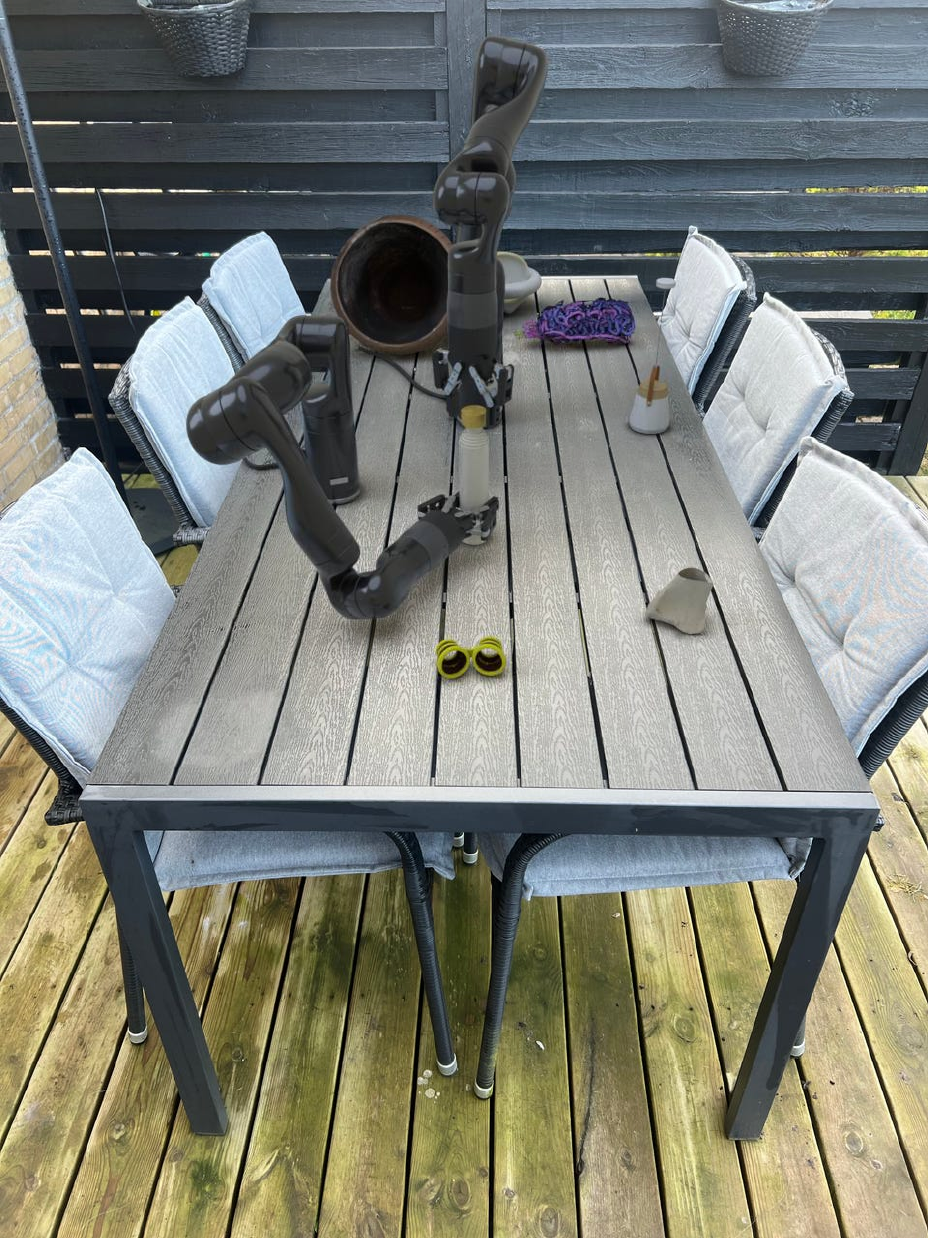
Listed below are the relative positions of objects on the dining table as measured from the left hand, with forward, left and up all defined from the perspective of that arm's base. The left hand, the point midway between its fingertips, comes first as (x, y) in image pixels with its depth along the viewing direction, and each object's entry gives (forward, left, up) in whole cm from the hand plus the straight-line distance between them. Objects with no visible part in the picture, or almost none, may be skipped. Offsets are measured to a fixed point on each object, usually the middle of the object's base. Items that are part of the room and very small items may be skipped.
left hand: (481, 497), depth 159 cm
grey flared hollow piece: (+39, -8, -7) cm, 40 cm away
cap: (0, -3, +17) cm, 17 cm away
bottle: (0, -3, -7) cm, 7 cm away
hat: (-53, +99, -7) cm, 113 cm away
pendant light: (+9, +53, -7) cm, 54 cm away
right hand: (0, -3, +15) cm, 16 cm away
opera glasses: (+18, -33, -7) cm, 38 cm away
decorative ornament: (-25, +86, -7) cm, 90 cm away
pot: (-64, +69, -7) cm, 94 cm away
